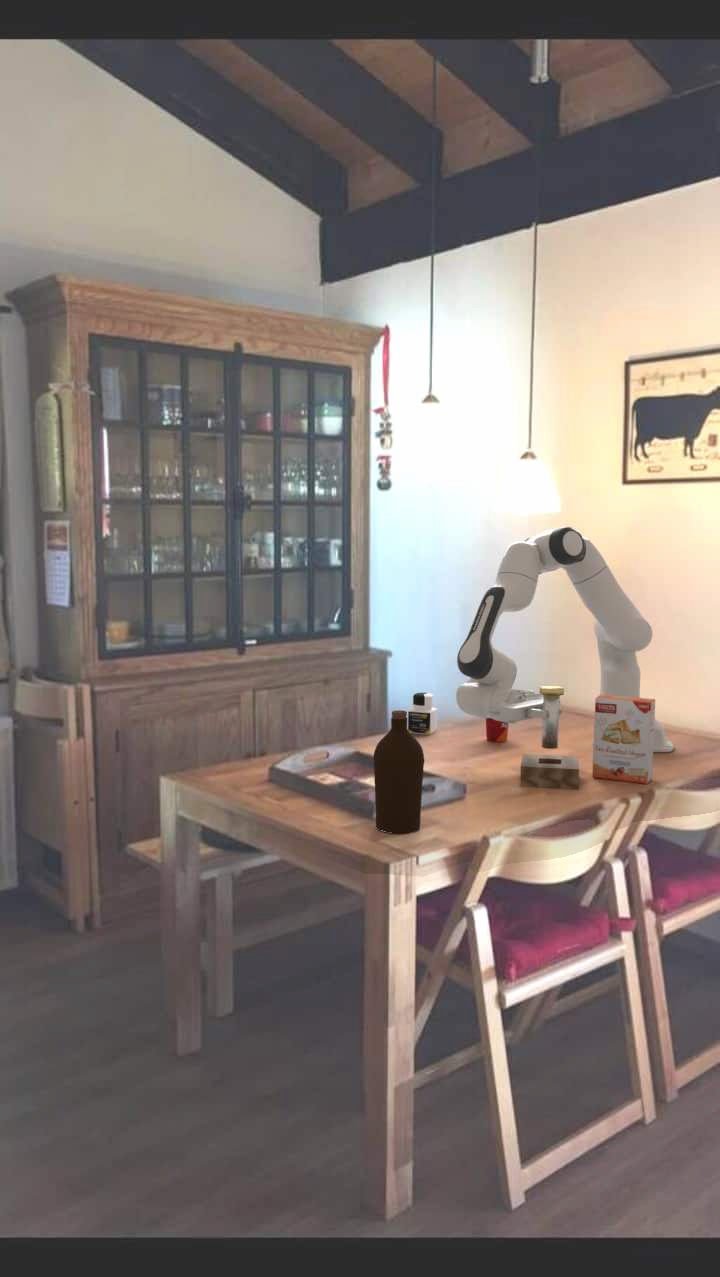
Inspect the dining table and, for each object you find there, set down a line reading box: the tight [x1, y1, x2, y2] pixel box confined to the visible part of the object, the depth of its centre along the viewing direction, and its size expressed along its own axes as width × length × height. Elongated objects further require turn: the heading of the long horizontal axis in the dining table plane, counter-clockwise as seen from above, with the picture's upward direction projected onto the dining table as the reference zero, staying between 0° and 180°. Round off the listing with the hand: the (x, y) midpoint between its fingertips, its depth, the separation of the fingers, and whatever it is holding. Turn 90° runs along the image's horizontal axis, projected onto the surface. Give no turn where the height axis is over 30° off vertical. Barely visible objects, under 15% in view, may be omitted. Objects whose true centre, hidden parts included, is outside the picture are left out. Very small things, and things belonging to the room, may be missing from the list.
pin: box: [538, 685, 565, 750], centre depth 259 cm, size 6×6×15 cm
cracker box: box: [591, 694, 656, 785], centre depth 262 cm, size 14×6×21 cm, turn 63°
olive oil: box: [373, 709, 425, 834], centre depth 219 cm, size 11×11×25 cm
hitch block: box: [519, 753, 580, 790], centre depth 260 cm, size 14×14×5 cm
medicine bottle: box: [407, 692, 438, 736], centre depth 318 cm, size 7×7×12 cm
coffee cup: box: [485, 718, 509, 743], centre depth 308 cm, size 8×8×15 cm
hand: (553, 713), depth 258 cm, fingers closed on pin, 4 cm apart
